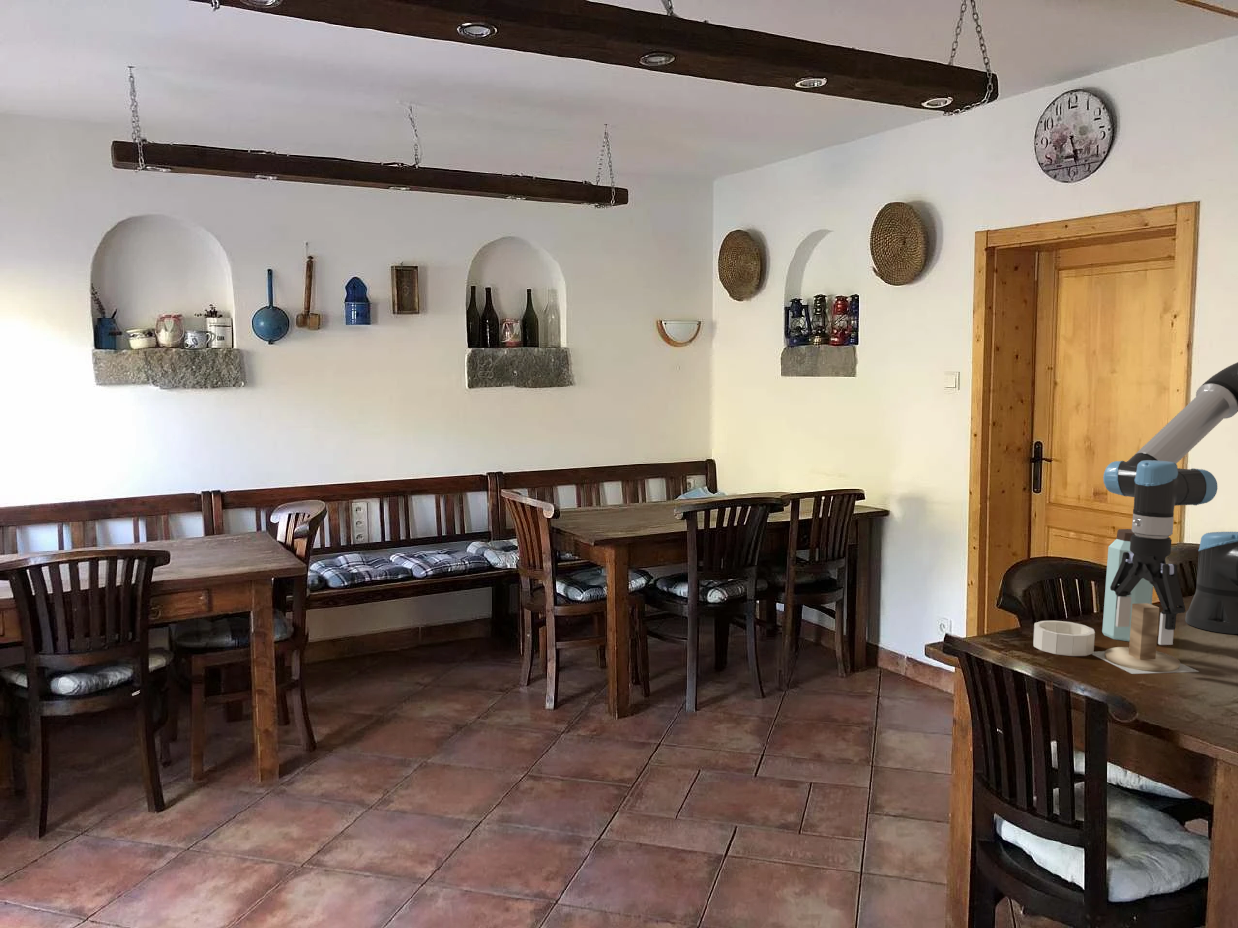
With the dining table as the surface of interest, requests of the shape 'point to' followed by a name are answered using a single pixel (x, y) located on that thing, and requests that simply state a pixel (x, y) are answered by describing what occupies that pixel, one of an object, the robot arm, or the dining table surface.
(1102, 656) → the mat
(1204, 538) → the robot arm
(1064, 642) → the bowl
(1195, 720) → the dining table surface
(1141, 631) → the wooden post on disc
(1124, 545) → the water bottle
